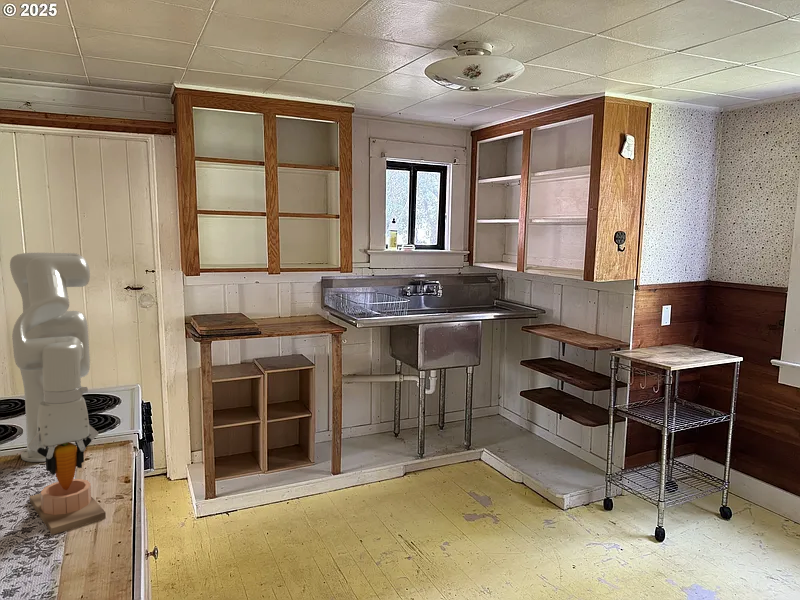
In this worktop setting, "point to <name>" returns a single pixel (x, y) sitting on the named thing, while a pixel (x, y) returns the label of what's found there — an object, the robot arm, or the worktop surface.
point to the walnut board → (68, 516)
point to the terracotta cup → (65, 497)
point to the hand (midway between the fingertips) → (65, 468)
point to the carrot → (65, 463)
